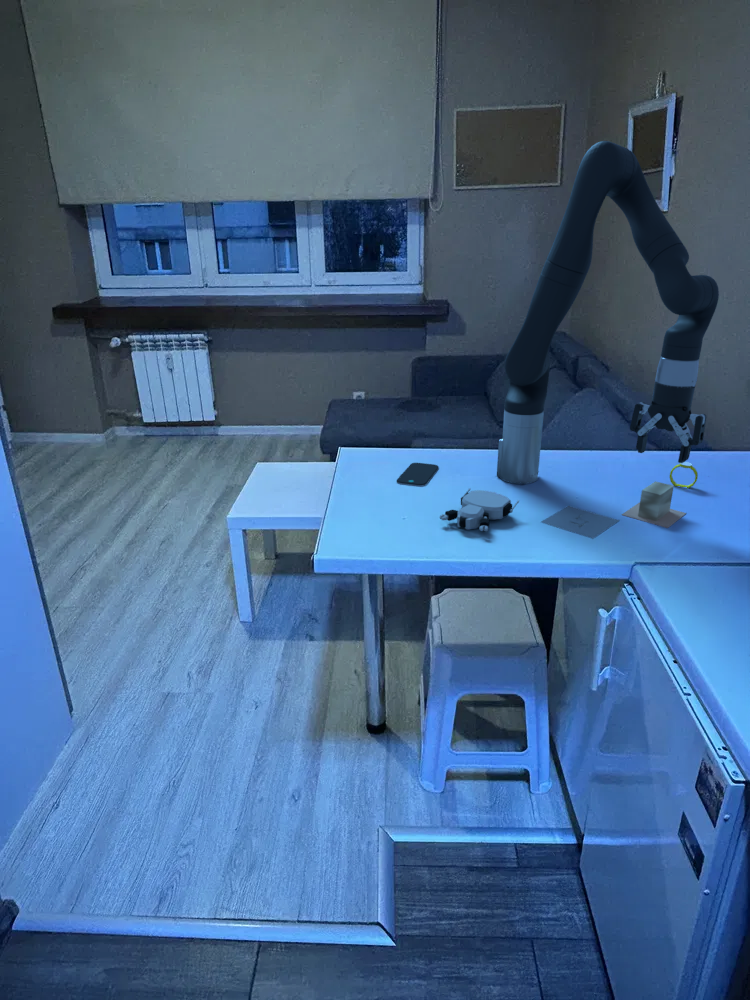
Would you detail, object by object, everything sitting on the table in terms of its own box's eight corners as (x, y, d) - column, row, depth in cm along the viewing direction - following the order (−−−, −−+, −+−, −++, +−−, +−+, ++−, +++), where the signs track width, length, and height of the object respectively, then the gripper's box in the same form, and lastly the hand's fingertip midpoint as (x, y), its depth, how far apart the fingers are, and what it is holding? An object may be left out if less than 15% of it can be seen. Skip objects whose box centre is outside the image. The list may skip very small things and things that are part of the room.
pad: (621, 515, 148) (621, 514, 147) (641, 502, 154) (641, 501, 154) (667, 528, 141) (667, 527, 141) (686, 514, 148) (686, 513, 148)
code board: (540, 522, 144) (540, 521, 144) (568, 506, 153) (568, 505, 152) (593, 539, 137) (593, 538, 137) (619, 521, 145) (619, 520, 145)
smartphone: (394, 481, 167) (412, 461, 180) (394, 484, 167) (412, 465, 180) (424, 484, 164) (440, 464, 177) (424, 488, 164) (440, 468, 178)
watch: (695, 488, 163) (701, 464, 160) (693, 491, 161) (699, 468, 158) (668, 481, 166) (674, 459, 163) (666, 485, 163) (672, 462, 161)
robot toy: (487, 544, 138) (520, 514, 148) (487, 524, 136) (521, 496, 146) (435, 529, 144) (470, 502, 155) (435, 510, 142) (470, 484, 153)
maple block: (637, 516, 146) (641, 490, 144) (651, 506, 151) (655, 481, 149) (656, 521, 144) (660, 494, 142) (669, 511, 149) (673, 485, 146)
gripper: (632, 377, 138) (620, 453, 144) (705, 389, 129) (688, 470, 135) (648, 371, 143) (636, 445, 149) (719, 383, 134) (702, 461, 140)
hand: (661, 457), depth 142 cm, fingers open, 8 cm apart
